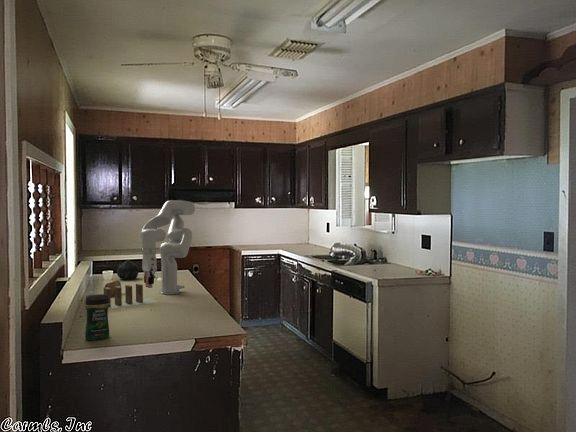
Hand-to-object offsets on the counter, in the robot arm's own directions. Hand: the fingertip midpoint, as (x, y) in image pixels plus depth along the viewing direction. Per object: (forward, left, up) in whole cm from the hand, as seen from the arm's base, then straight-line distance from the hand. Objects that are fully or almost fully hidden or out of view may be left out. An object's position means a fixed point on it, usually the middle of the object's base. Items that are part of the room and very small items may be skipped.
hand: (149, 282), depth 279 cm
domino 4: (+6, 0, -10) cm, 12 cm away
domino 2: (+18, 0, -10) cm, 20 cm away
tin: (+10, -31, -11) cm, 34 cm away
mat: (+13, 0, -11) cm, 17 cm away
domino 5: (0, 0, -2) cm, 2 cm away
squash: (-19, -81, -11) cm, 84 cm away
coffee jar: (+47, +55, -11) cm, 73 cm away
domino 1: (+24, 0, -10) cm, 26 cm away
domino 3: (+12, 0, -10) cm, 16 cm away
